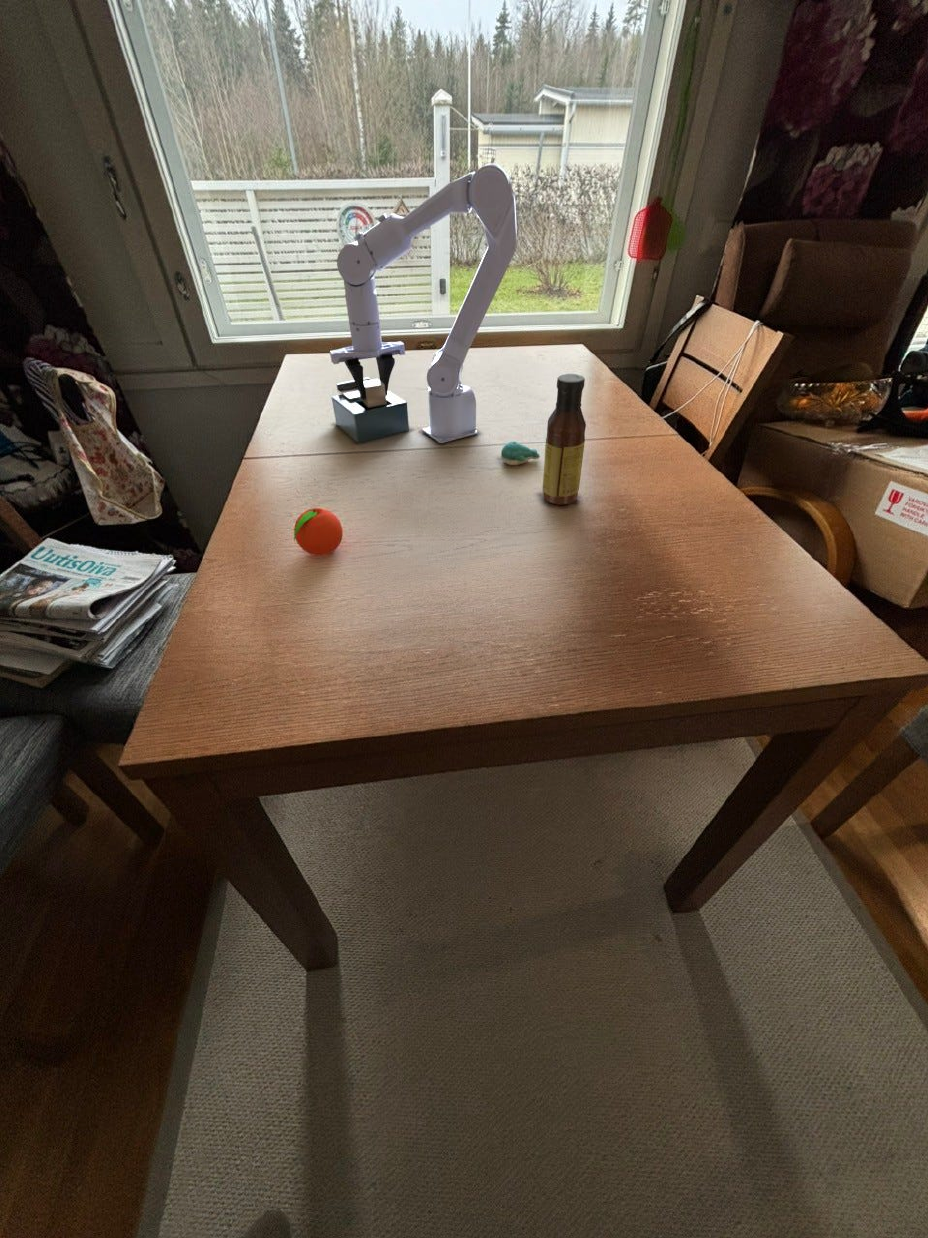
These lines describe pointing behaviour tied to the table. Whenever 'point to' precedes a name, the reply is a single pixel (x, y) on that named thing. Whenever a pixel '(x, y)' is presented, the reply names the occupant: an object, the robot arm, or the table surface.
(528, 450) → the whale figurine
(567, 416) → the sauce bottle
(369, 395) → the block
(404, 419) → the sliding lid box
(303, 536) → the clementine
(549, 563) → the table surface
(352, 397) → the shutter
